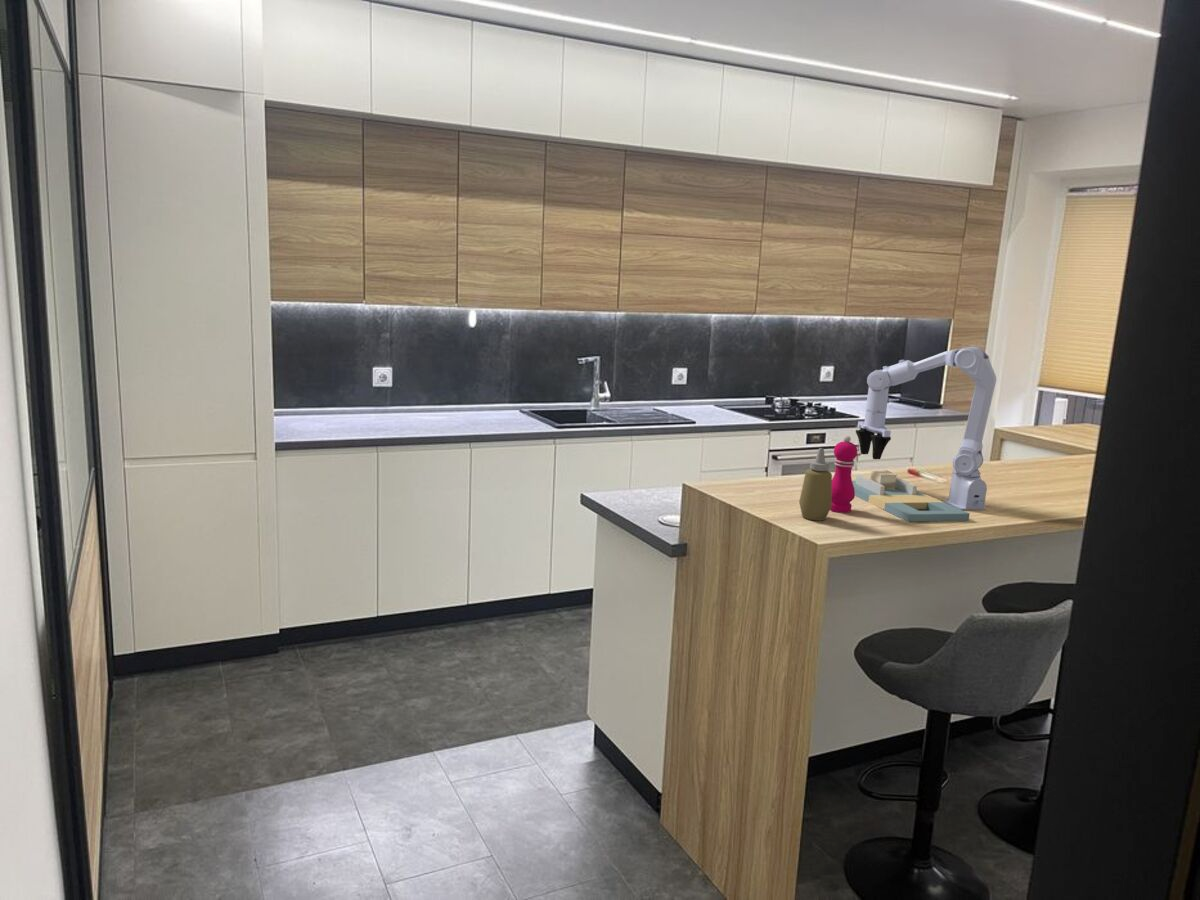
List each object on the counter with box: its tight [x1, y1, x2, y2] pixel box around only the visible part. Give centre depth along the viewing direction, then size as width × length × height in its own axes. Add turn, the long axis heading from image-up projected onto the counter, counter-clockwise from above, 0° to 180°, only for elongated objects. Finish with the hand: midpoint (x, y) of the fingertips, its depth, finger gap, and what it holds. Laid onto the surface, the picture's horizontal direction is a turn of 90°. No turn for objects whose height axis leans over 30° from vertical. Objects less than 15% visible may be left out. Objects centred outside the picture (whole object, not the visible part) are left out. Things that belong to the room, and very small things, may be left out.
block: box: [870, 469, 898, 490], centre depth 249 cm, size 5×5×4 cm
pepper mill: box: [830, 435, 858, 514], centre depth 229 cm, size 7×7×20 cm
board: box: [852, 474, 970, 522], centre depth 241 cm, size 35×18×4 cm, turn 14°
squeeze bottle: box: [798, 447, 833, 521], centre depth 220 cm, size 8×8×18 cm
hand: (870, 456), depth 256 cm, fingers open, 6 cm apart
